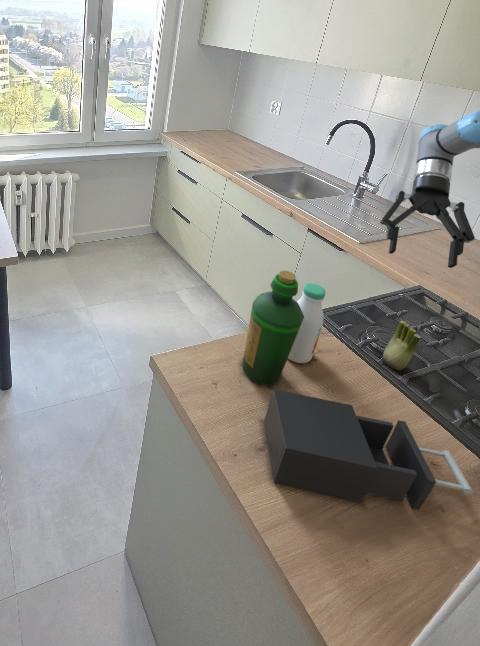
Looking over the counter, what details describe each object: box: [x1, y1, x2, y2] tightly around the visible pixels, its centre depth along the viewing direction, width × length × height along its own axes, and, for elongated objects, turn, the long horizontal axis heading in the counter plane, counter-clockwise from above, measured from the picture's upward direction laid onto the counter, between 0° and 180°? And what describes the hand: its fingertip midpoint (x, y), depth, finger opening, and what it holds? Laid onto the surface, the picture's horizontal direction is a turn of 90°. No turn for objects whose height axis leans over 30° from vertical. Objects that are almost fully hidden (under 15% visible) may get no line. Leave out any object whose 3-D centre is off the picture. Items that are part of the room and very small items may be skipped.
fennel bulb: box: [382, 320, 421, 372], centre depth 101 cm, size 6×5×12 cm
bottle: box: [242, 270, 304, 386], centre depth 94 cm, size 11×11×28 cm
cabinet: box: [263, 389, 377, 504], centre depth 79 cm, size 15×13×10 cm
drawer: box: [356, 414, 474, 511], centre depth 76 cm, size 21×11×8 cm, turn 78°
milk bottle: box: [287, 282, 326, 364], centre depth 102 cm, size 8×8×20 cm
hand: (421, 258), depth 102 cm, fingers open, 11 cm apart
